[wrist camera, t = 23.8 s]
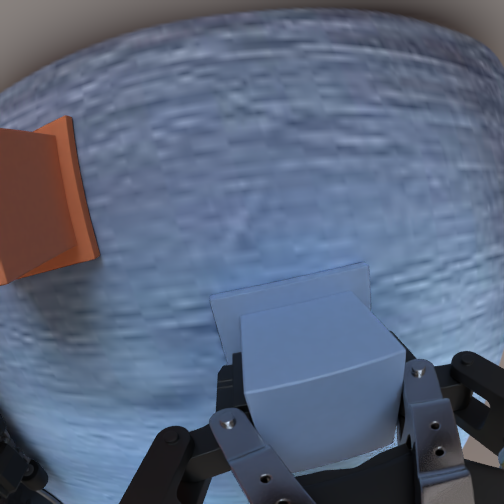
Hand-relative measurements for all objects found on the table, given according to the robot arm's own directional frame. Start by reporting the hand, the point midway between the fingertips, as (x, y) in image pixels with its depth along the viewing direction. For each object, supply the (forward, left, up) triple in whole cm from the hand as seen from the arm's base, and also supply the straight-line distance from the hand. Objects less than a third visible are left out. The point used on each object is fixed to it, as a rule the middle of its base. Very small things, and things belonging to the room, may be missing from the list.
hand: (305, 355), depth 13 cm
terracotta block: (-11, +9, 0) cm, 15 cm away
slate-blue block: (0, 0, 0) cm, 0 cm away
